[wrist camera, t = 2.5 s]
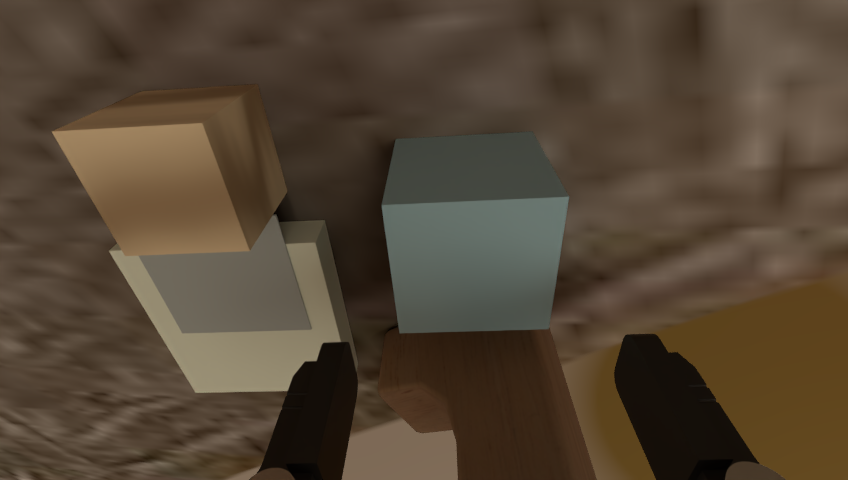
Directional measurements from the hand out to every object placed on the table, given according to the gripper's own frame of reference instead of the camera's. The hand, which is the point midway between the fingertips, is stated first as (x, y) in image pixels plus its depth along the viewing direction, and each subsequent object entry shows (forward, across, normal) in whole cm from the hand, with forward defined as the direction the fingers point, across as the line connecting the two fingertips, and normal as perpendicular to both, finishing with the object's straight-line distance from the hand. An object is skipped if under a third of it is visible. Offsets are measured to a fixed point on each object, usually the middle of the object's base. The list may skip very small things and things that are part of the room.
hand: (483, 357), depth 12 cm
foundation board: (+10, +12, +6) cm, 16 cm away
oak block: (+9, +11, -4) cm, 15 cm away
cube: (+10, 0, -1) cm, 10 cm away
